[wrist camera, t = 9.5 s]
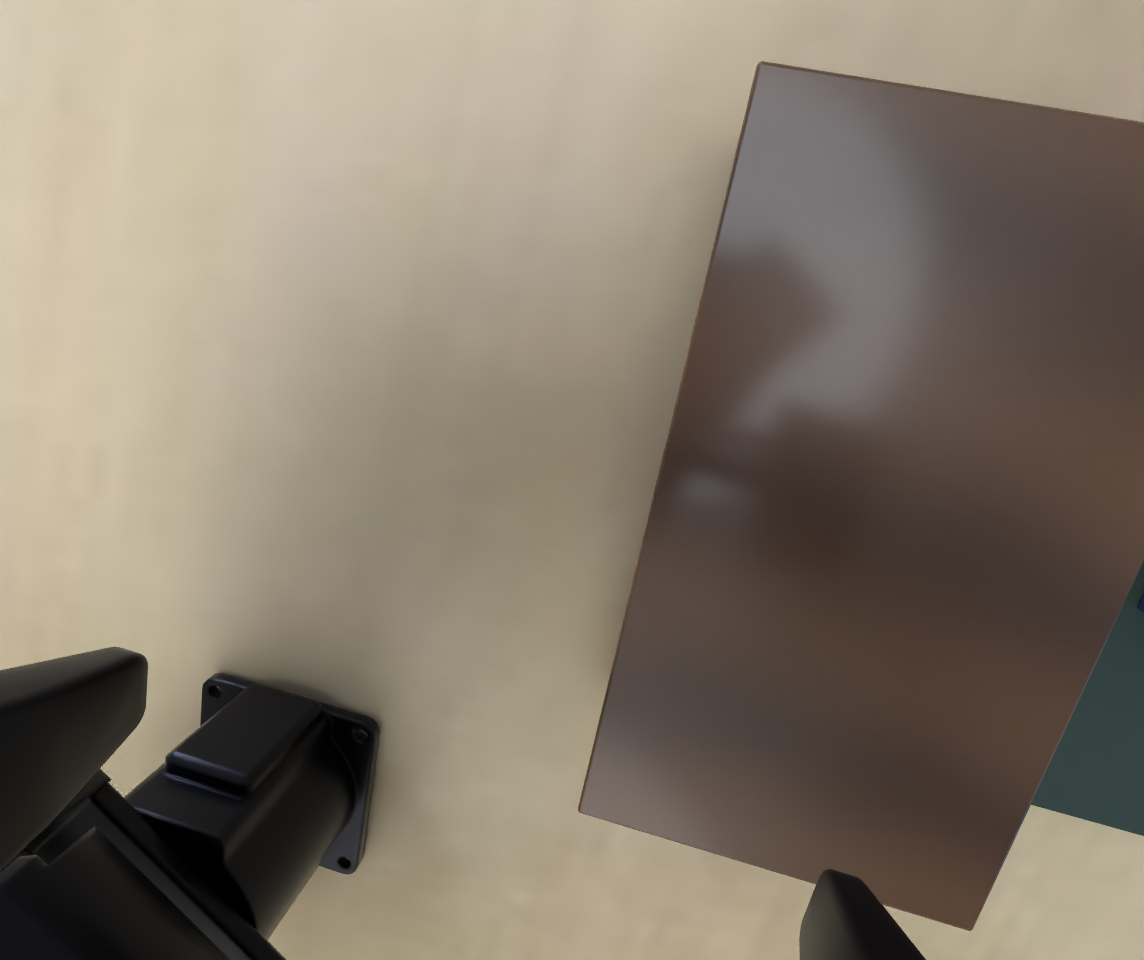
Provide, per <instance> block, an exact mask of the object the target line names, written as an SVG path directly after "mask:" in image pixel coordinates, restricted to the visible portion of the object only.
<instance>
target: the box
mask: <svg viewBox="0 0 1144 960" xmlns="http://www.w3.org/2000/svg"><path fill="white" fill-rule="evenodd" d="M1138 609H1139V610H1140V611H1142V612H1143V613H1144V595H1143V597H1142V599H1141V601H1140V603H1139V605H1138Z"/></svg>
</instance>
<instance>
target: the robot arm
mask: <svg viewBox="0 0 1144 960" xmlns="http://www.w3.org/2000/svg"><path fill="white" fill-rule="evenodd" d="M147 675H148V662H147V660H146V658H145V657H144V656H143V655H142V654H140V653H136V652H133V651H130V650H127V649H124V648H120V647H110V648H105V649H100V650H96V651H91V652H86V653H81V654H77V655H72V656H67V657H62V658H58V659H53V660H48V661H43V662H39V663H34V664H29V665H24V666H20V667H15V668H10V669H5V670H1V671H0V960H286V959H285V958H284V957H283V956H282V955H281V954H280V953H279V952H278V951H277V950H276V949H275V948H274V947H273V946H272V945H271V944H270V943H269V942H268V941H267V940H268V939H269V937H270V936H271V934H272V933H273V931H274V930H275V928H276V927H277V925H278V924H279V922H280V921H281V920H282V918H283V917H284V915H285V914H286V912H287V911H288V909H289V908H290V906H291V905H292V903H293V902H294V901H295V899H296V898H297V896H298V895H299V893H300V892H301V890H302V889H303V887H304V886H305V884H306V883H307V882H308V880H309V879H310V877H311V876H312V874H313V873H314V871H315V870H316V868H317V867H318V865H319V866H322V867H325V868H328V869H331V870H334V871H337V872H340V873H343V874H352V873H354V872H355V871H356V869H357V868H358V866H359V865H360V863H361V861H362V858H363V851H364V843H365V836H366V829H367V821H368V814H369V807H370V799H371V792H372V785H373V778H374V770H375V763H376V756H377V748H378V741H379V734H380V731H379V726H378V724H377V723H376V722H375V721H374V720H373V719H372V718H370V717H368V716H364V715H361V714H357V713H354V712H351V711H347V710H344V709H341V708H337V707H334V706H331V705H327V704H324V703H320V702H317V701H314V700H310V699H307V698H304V697H300V696H297V695H294V694H290V693H287V692H284V691H280V690H277V689H273V688H270V687H267V686H263V685H260V684H257V683H253V682H250V681H247V680H243V679H240V678H236V677H233V676H230V675H226V674H222V673H217V674H214V675H213V676H212V677H210V678H209V679H208V680H207V681H206V682H205V683H204V684H203V688H202V706H201V726H200V727H199V728H198V729H197V730H196V731H194V732H193V733H192V734H191V735H190V736H189V737H187V738H186V739H185V740H184V741H183V742H181V743H180V744H179V745H178V746H177V747H176V748H174V749H173V750H172V751H171V752H170V753H168V755H167V756H166V760H165V763H164V764H162V765H161V766H160V767H159V768H158V769H157V770H155V771H154V772H153V773H152V774H151V775H150V776H148V777H147V778H146V779H145V780H144V781H143V782H141V783H140V784H139V785H138V786H137V787H135V788H134V789H133V790H132V791H131V792H130V793H128V794H127V795H126V796H125V797H124V798H123V797H122V796H121V795H120V794H119V793H118V792H117V791H116V790H115V789H114V788H113V787H112V786H111V785H110V784H109V783H108V782H109V781H110V780H111V779H110V778H109V777H108V776H107V775H106V774H105V773H104V772H103V771H102V770H101V769H100V767H101V766H102V765H103V764H104V763H105V762H106V761H107V760H108V759H109V757H110V756H111V755H112V754H113V753H114V752H115V751H116V750H117V748H118V747H119V746H120V745H121V744H122V743H123V742H124V741H125V739H126V738H127V737H128V736H129V735H130V734H131V733H132V732H133V730H134V729H135V728H136V727H137V726H138V724H139V723H140V721H141V719H142V717H143V715H144V712H145V708H146V693H147ZM217 686H218V687H219V688H220V689H221V691H220V690H219V689H218V688H217ZM360 729H362V730H364V731H365V732H366V733H367V735H364V734H363V733H361V731H360ZM345 857H346V858H345ZM347 858H348V859H349V860H348V859H347ZM800 960H926V959H925V958H924V957H923V956H922V954H921V953H920V952H919V950H918V949H917V948H916V947H915V945H914V944H913V943H912V942H911V940H910V939H909V938H908V937H907V935H906V934H905V933H904V932H903V930H902V929H901V928H900V927H899V925H898V924H897V923H896V922H895V920H894V919H893V918H892V917H891V915H890V914H889V913H888V912H887V910H886V909H885V908H884V906H883V905H882V904H881V903H880V901H879V900H878V899H877V898H876V896H875V895H874V894H873V893H872V891H871V890H870V889H869V888H868V886H867V885H866V884H865V883H864V882H863V881H862V880H861V879H860V878H858V877H856V876H852V875H849V874H846V873H843V872H840V871H836V870H833V869H827V870H824V871H823V873H822V874H821V875H820V877H819V879H818V882H817V885H816V887H815V890H814V892H813V895H812V897H811V900H810V902H809V905H808V907H807V910H806V912H805V915H804V918H803V920H802V924H801V930H800Z"/></svg>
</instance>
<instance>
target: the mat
mask: <svg viewBox="0 0 1144 960" xmlns="http://www.w3.org/2000/svg"><path fill="white" fill-rule="evenodd" d="M1143 595H1144V562H1143V564H1142V566H1141V568H1140V570H1139V573H1138V575H1137V577H1136V579H1135V581H1134V583H1133V585H1132V588H1131V590H1130V592H1129V594H1128V596H1127V598H1126V600H1125V603H1124V605H1123V607H1122V609H1121V611H1120V613H1119V616H1118V618H1117V620H1116V622H1115V624H1114V626H1113V628H1112V631H1111V633H1110V635H1109V637H1108V639H1107V641H1106V643H1105V646H1104V648H1103V650H1102V652H1101V654H1100V656H1099V659H1098V661H1097V663H1096V665H1095V667H1094V669H1093V671H1092V674H1091V676H1090V678H1089V680H1088V682H1087V684H1086V686H1085V689H1084V691H1083V693H1082V695H1081V697H1080V699H1079V702H1078V704H1077V706H1076V708H1075V710H1074V712H1073V714H1072V717H1071V719H1070V721H1069V723H1068V725H1067V727H1066V729H1065V732H1064V734H1063V736H1062V738H1061V740H1060V742H1059V744H1058V747H1057V749H1056V751H1055V753H1054V755H1053V757H1052V760H1051V762H1050V764H1049V766H1048V768H1047V770H1046V772H1045V775H1044V777H1043V779H1042V781H1041V783H1040V785H1039V787H1038V790H1037V792H1036V794H1035V796H1034V798H1033V800H1032V803H1031V805H1035V806H1038V807H1042V808H1046V809H1049V810H1053V811H1056V812H1060V813H1063V814H1067V815H1071V816H1074V817H1078V818H1081V819H1085V820H1089V821H1092V822H1096V823H1099V824H1103V825H1107V826H1110V827H1114V828H1117V829H1121V830H1124V831H1128V832H1132V833H1135V834H1139V835H1142V836H1144V613H1143V612H1142V611H1140V610H1139V609H1138V605H1139V603H1140V601H1141V599H1142V597H1143Z"/></svg>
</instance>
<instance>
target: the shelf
mask: <svg viewBox="0 0 1144 960" xmlns="http://www.w3.org/2000/svg"><path fill="white" fill-rule="evenodd" d="M1143 562H1144V122H1139V121H1133V120H1127V119H1120V118H1114V117H1108V116H1102V115H1095V114H1089V113H1083V112H1077V111H1070V110H1064V109H1058V108H1051V107H1045V106H1039V105H1033V104H1026V103H1020V102H1014V101H1008V100H1001V99H995V98H989V97H983V96H976V95H970V94H964V93H957V92H951V91H945V90H939V89H932V88H926V87H920V86H914V85H907V84H901V83H895V82H888V81H882V80H876V79H870V78H863V77H857V76H851V75H845V74H838V73H832V72H826V71H820V70H813V69H807V68H801V67H794V66H788V65H782V64H776V63H769V62H763V61H762V62H759V63H758V65H757V67H756V71H755V75H754V80H753V84H752V88H751V92H750V96H749V100H748V104H747V109H746V113H745V117H744V121H743V125H742V129H741V134H740V138H739V142H738V146H737V150H736V154H735V158H734V163H733V167H732V171H731V175H730V179H729V183H728V188H727V192H726V196H725V200H724V204H723V208H722V212H721V217H720V221H719V225H718V229H717V233H716V237H715V242H714V246H713V250H712V254H711V258H710V262H709V266H708V271H707V275H706V279H705V283H704V287H703V291H702V295H701V300H700V304H699V308H698V312H697V316H696V320H695V325H694V329H693V333H692V337H691V341H690V345H689V349H688V354H687V358H686V362H685V366H684V370H683V374H682V379H681V383H680V387H679V391H678V395H677V399H676V403H675V408H674V412H673V416H672V420H671V424H670V428H669V433H668V437H667V441H666V445H665V449H664V453H663V457H662V462H661V466H660V470H659V474H658V478H657V482H656V487H655V491H654V495H653V499H652V503H651V507H650V511H649V516H648V520H647V524H646V528H645V532H644V536H643V541H642V545H641V549H640V553H639V557H638V561H637V565H636V570H635V574H634V578H633V582H632V586H631V590H630V595H629V599H628V603H627V607H626V611H625V615H624V619H623V624H622V628H621V632H620V636H619V640H618V644H617V649H616V653H615V657H614V661H613V665H612V669H611V673H610V678H609V682H608V686H607V690H606V694H605V698H604V702H603V707H602V711H601V715H600V719H599V723H598V727H597V732H596V736H595V740H594V744H593V748H592V752H591V756H590V761H589V765H588V769H587V773H586V777H585V781H584V786H583V790H582V794H581V798H580V802H579V806H578V811H579V812H580V813H583V814H586V815H589V816H593V817H596V818H599V819H603V820H606V821H609V822H612V823H616V824H619V825H622V826H626V827H629V828H632V829H636V830H639V831H642V832H645V833H649V834H652V835H655V836H659V837H662V838H665V839H668V840H672V841H675V842H678V843H682V844H685V845H688V846H692V847H695V848H698V849H701V850H705V851H708V852H711V853H715V854H718V855H721V856H724V857H728V858H731V859H734V860H738V861H741V862H744V863H748V864H751V865H754V866H757V867H761V868H764V869H767V870H771V871H774V872H777V873H780V874H784V875H787V876H790V877H794V878H797V879H800V880H803V881H807V882H810V883H813V884H817V882H818V879H819V877H820V875H821V874H822V873H823V871H824V870H827V869H833V870H836V871H840V872H843V873H846V874H849V875H852V876H856V877H858V878H860V879H861V880H862V881H863V882H864V883H865V884H866V885H867V886H868V888H869V889H870V890H871V891H872V893H873V894H874V895H875V896H876V898H877V899H878V900H879V901H880V903H881V904H883V905H886V906H889V907H892V908H896V909H899V910H902V911H906V912H909V913H912V914H915V915H919V916H922V917H925V918H929V919H932V920H935V921H939V922H942V923H945V924H948V925H952V926H955V927H958V928H962V929H965V930H968V931H971V930H972V929H973V927H974V925H975V923H976V921H977V919H978V916H979V914H980V912H981V910H982V908H983V906H984V904H985V901H986V899H987V897H988V895H989V893H990V891H991V889H992V886H993V884H994V882H995V880H996V878H997V876H998V873H999V871H1000V869H1001V867H1002V865H1003V863H1004V861H1005V858H1006V856H1007V854H1008V852H1009V850H1010V848H1011V846H1012V843H1013V841H1014V839H1015V837H1016V835H1017V833H1018V830H1019V828H1020V826H1021V824H1022V822H1023V820H1024V818H1025V815H1026V813H1027V811H1028V809H1029V807H1030V805H1031V803H1032V800H1033V798H1034V796H1035V794H1036V792H1037V790H1038V787H1039V785H1040V783H1041V781H1042V779H1043V777H1044V775H1045V772H1046V770H1047V768H1048V766H1049V764H1050V762H1051V760H1052V757H1053V755H1054V753H1055V751H1056V749H1057V747H1058V744H1059V742H1060V740H1061V738H1062V736H1063V734H1064V732H1065V729H1066V727H1067V725H1068V723H1069V721H1070V719H1071V717H1072V714H1073V712H1074V710H1075V708H1076V706H1077V704H1078V702H1079V699H1080V697H1081V695H1082V693H1083V691H1084V689H1085V686H1086V684H1087V682H1088V680H1089V678H1090V676H1091V674H1092V671H1093V669H1094V667H1095V665H1096V663H1097V661H1098V659H1099V656H1100V654H1101V652H1102V650H1103V648H1104V646H1105V643H1106V641H1107V639H1108V637H1109V635H1110V633H1111V631H1112V628H1113V626H1114V624H1115V622H1116V620H1117V618H1118V616H1119V613H1120V611H1121V609H1122V607H1123V605H1124V603H1125V600H1126V598H1127V596H1128V594H1129V592H1130V590H1131V588H1132V585H1133V583H1134V581H1135V579H1136V577H1137V575H1138V573H1139V570H1140V568H1141V566H1142V564H1143Z"/></svg>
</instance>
